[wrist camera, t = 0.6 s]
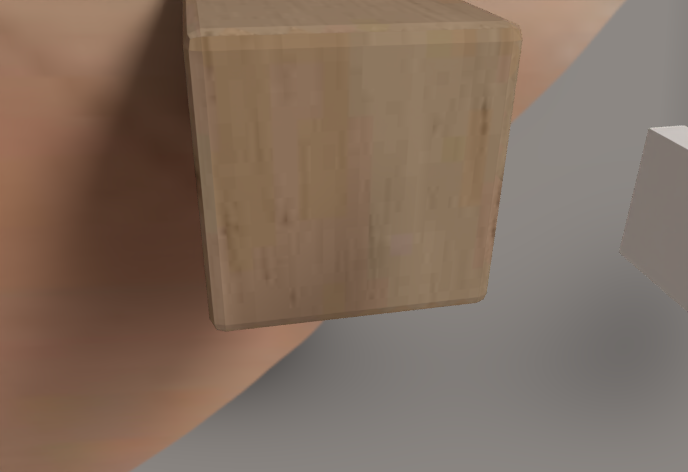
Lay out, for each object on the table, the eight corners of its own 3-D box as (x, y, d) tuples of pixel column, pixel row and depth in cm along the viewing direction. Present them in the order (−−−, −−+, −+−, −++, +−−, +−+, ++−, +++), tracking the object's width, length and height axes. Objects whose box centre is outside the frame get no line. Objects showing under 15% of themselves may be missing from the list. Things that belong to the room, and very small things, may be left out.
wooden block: (197, 137, 39) (211, 339, 22) (180, -45, 34) (181, 32, 17) (361, 128, 41) (490, 307, 24) (366, -46, 36) (531, 23, 19)
